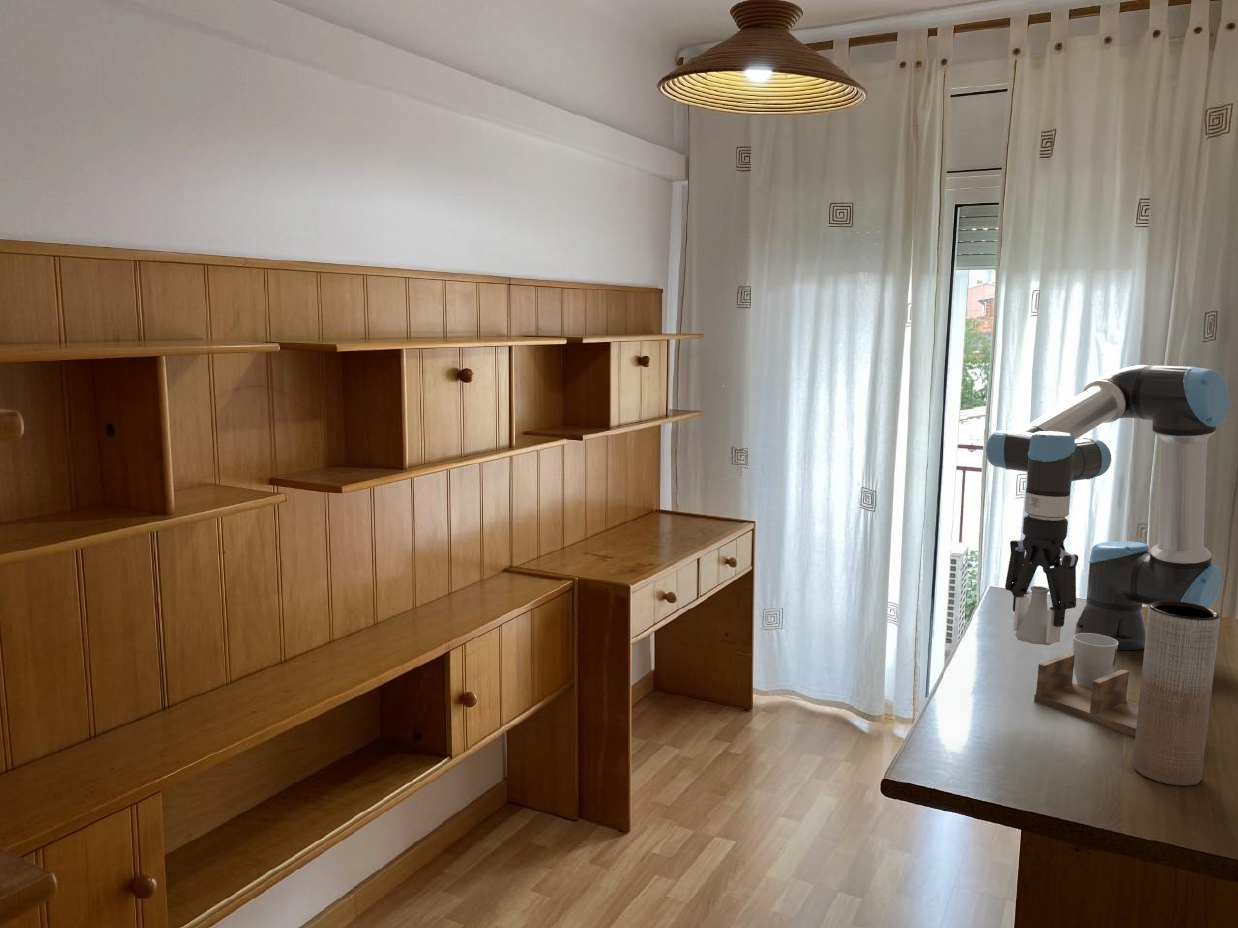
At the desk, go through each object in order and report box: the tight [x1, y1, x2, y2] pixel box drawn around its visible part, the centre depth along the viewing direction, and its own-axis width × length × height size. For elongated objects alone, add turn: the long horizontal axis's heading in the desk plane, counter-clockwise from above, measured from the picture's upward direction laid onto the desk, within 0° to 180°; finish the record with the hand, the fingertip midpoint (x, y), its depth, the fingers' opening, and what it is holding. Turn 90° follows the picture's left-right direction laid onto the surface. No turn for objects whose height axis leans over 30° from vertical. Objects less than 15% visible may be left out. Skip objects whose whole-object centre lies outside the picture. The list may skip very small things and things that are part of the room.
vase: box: [1132, 601, 1221, 787], centre depth 158 cm, size 10×10×28 cm
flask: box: [1015, 585, 1054, 646], centre depth 183 cm, size 7×7×10 cm
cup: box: [1072, 633, 1118, 689], centre depth 197 cm, size 8×8×10 cm
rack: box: [1033, 653, 1139, 738], centre depth 184 cm, size 12×23×8 cm, turn 36°
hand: (1036, 635), depth 183 cm, fingers closed on flask, 7 cm apart
